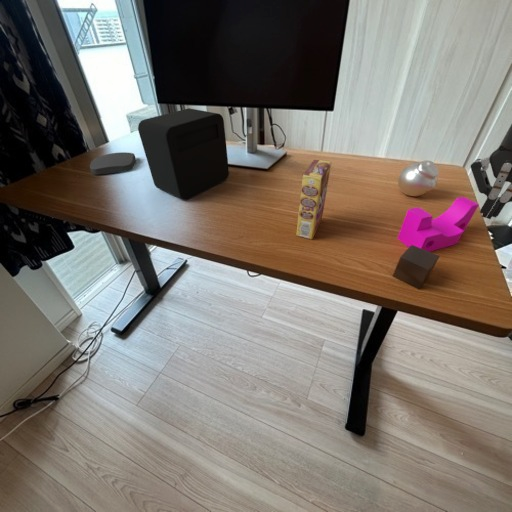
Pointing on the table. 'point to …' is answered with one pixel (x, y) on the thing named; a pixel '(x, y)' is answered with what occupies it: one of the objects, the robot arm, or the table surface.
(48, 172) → the table surface
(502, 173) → the robot arm
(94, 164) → the media streaming box
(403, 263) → the walnut cube
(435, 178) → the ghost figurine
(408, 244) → the magenta curved bracket
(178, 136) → the air purifier
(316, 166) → the candy box
